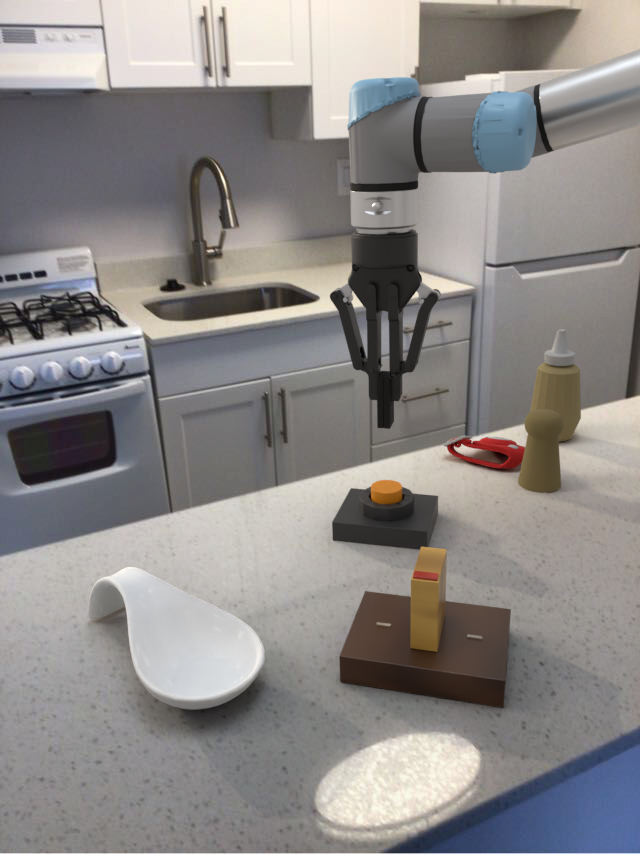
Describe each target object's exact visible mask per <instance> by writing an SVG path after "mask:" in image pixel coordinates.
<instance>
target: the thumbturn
mask: <svg viewBox="0 0 640 854" xmlns="http://www.w3.org/2000/svg"><path fill="white" fill-rule="evenodd" d="M447 555H448V549H446V548H439V547H429V546H428V547H421V548H420V550H419V552H418V555H417V558H416V562H415V565H414V568H413V572H412V575H411V578H410V597H411V648H413V649H420V650H427V651H434V652H437V651H438V646H439V641H440V637H441V632H442V627H443V623H444V618H445V605H446V601H447V600H446V598H447V597H446V596H447V563H448V562H447V557H448V556H447Z"/></svg>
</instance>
